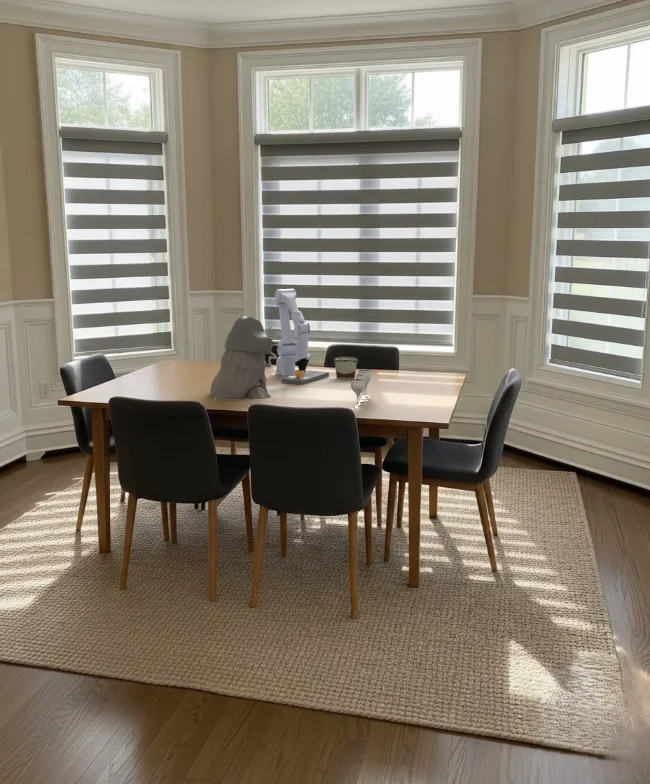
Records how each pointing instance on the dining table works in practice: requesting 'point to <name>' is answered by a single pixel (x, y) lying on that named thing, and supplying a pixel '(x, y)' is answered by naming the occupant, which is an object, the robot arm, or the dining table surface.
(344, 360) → the food container
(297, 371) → the fader
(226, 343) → the bust
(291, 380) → the console
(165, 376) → the dining table surface
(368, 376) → the goblet set
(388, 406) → the dining table surface
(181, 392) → the dining table surface
